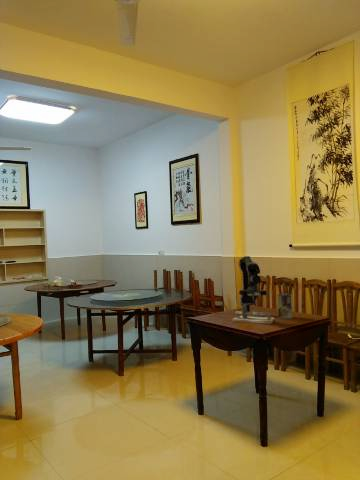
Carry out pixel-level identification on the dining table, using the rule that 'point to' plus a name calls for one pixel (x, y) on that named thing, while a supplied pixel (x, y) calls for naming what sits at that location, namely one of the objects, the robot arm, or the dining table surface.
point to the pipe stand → (253, 319)
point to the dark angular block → (244, 311)
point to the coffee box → (285, 305)
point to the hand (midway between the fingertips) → (254, 305)
